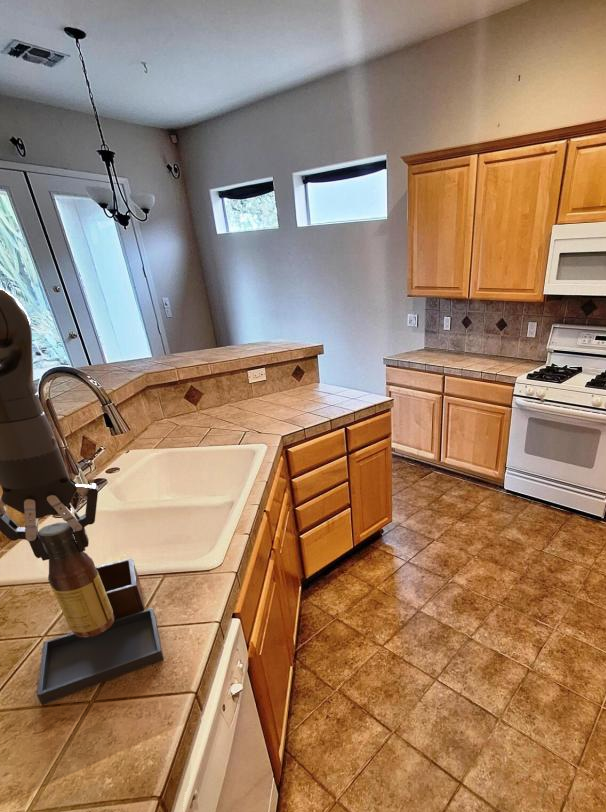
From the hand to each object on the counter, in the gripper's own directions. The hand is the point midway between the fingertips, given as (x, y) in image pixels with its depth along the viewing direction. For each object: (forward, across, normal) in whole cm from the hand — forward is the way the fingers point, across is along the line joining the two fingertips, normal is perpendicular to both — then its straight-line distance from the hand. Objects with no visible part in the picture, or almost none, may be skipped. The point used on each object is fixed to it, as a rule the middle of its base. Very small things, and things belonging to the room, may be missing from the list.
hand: (64, 552), depth 66 cm
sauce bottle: (+15, 0, 0) cm, 15 cm away
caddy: (+22, -2, -14) cm, 26 cm away
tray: (+22, 0, 0) cm, 22 cm away
